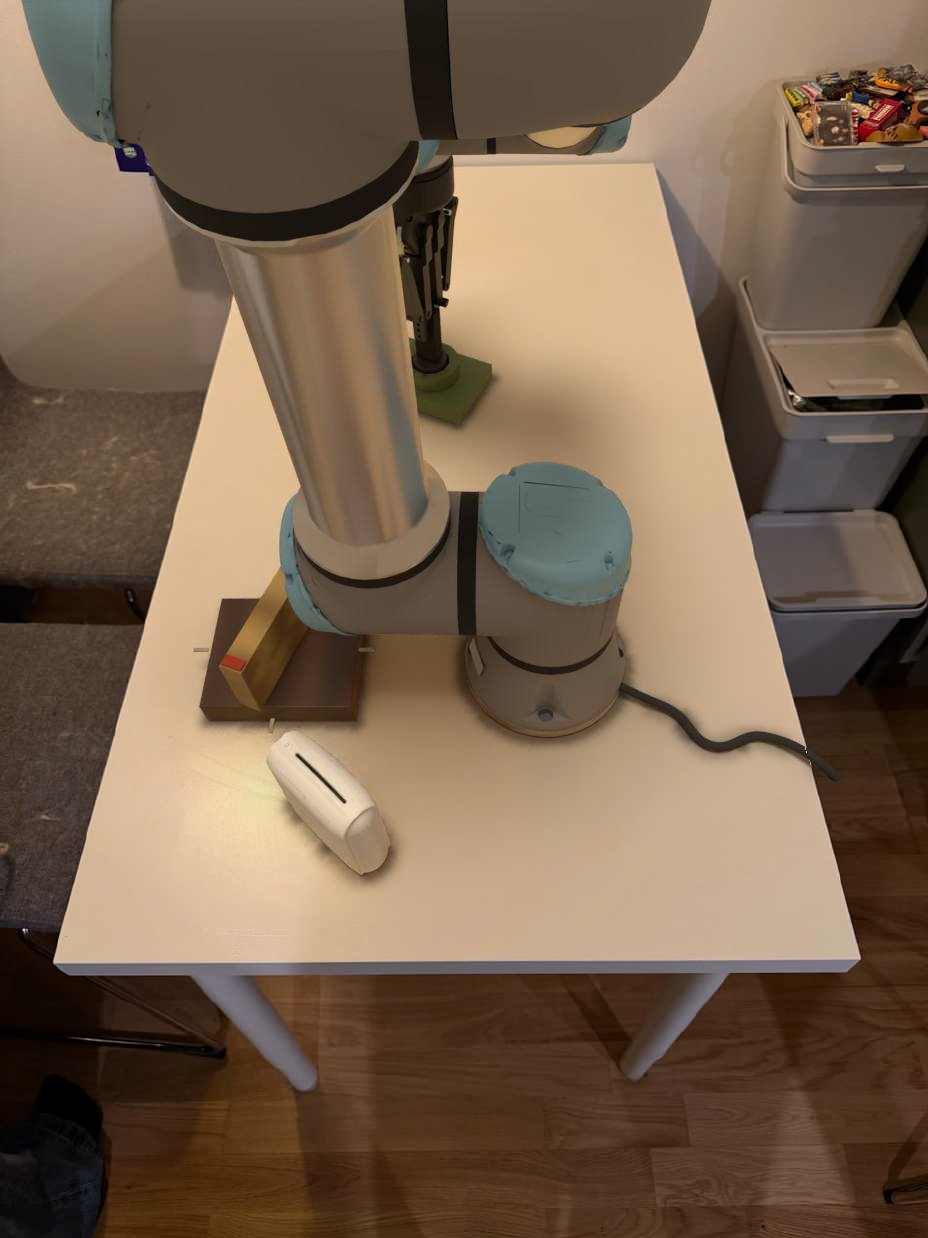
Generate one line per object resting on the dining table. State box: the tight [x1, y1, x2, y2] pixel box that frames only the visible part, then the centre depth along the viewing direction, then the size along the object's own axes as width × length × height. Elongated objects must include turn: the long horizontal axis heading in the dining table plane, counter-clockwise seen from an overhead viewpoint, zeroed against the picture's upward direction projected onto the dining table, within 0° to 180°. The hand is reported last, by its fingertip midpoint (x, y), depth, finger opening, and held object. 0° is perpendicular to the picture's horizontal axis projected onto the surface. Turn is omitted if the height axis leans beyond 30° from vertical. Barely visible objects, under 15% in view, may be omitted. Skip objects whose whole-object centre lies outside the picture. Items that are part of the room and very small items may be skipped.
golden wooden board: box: [219, 565, 308, 711], centre depth 76 cm, size 13×2×7 cm, turn 159°
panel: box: [192, 597, 375, 734], centre depth 81 cm, size 17×17×3 cm
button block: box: [408, 336, 493, 426], centre depth 101 cm, size 12×9×4 cm
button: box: [413, 350, 447, 374], centre depth 100 cm, size 4×4×2 cm
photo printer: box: [266, 730, 392, 876], centre depth 68 cm, size 10×4×12 cm, turn 46°
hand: (429, 355), depth 99 cm, fingers closed
